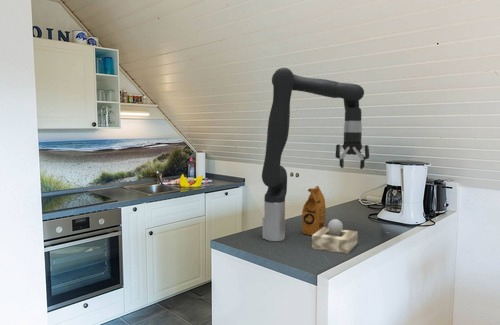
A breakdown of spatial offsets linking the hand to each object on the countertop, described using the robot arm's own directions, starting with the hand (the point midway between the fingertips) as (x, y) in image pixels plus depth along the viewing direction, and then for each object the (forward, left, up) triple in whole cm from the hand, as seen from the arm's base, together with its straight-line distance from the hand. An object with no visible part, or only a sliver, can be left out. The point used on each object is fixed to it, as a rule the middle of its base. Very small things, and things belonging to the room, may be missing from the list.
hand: (351, 168), depth 162 cm
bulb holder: (-3, -13, -32) cm, 35 cm away
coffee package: (-18, +2, -32) cm, 37 cm away
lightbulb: (-3, -13, -32) cm, 34 cm away
